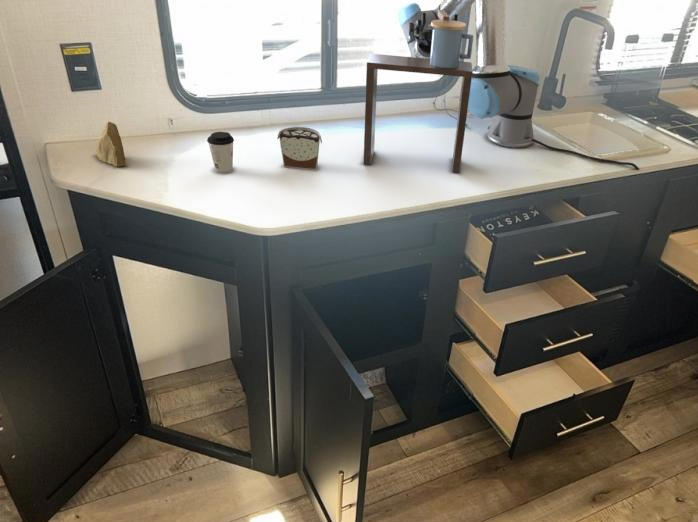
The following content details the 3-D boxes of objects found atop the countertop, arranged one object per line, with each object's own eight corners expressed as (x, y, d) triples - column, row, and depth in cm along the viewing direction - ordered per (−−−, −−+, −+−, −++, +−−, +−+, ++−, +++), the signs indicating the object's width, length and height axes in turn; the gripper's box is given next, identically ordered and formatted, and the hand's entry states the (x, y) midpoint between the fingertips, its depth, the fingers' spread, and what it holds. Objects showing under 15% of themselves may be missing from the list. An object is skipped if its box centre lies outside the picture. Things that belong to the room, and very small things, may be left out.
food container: (326, 162, 174) (325, 128, 169) (321, 170, 169) (321, 136, 164) (284, 158, 175) (282, 124, 169) (278, 166, 170) (276, 131, 164)
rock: (134, 159, 162) (135, 141, 169) (108, 136, 156) (110, 118, 163) (105, 182, 164) (107, 163, 171) (78, 160, 158) (81, 142, 165)
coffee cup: (214, 176, 161) (209, 140, 156) (208, 167, 166) (203, 131, 161) (239, 173, 164) (236, 137, 159) (233, 163, 169) (229, 129, 164)
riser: (459, 160, 183) (471, 62, 166) (459, 173, 174) (472, 71, 158) (367, 151, 183) (371, 53, 167) (363, 164, 175) (366, 62, 159)
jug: (469, 63, 166) (474, 25, 160) (469, 70, 159) (474, 31, 154) (425, 59, 166) (429, 21, 160) (424, 66, 159) (427, 27, 154)
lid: (456, 17, 169) (457, 10, 168) (469, 31, 154) (469, 24, 153) (424, 15, 168) (424, 9, 167) (433, 29, 153) (434, 22, 152)
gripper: (460, 59, 189) (477, 34, 166) (394, 56, 187) (402, 31, 164) (461, 34, 188) (478, 6, 166) (394, 31, 186) (402, 2, 163)
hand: (440, 18), depth 165 cm, fingers open, 8 cm apart
